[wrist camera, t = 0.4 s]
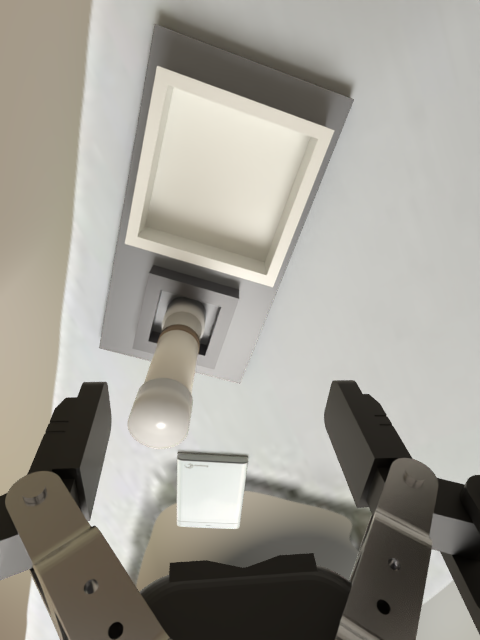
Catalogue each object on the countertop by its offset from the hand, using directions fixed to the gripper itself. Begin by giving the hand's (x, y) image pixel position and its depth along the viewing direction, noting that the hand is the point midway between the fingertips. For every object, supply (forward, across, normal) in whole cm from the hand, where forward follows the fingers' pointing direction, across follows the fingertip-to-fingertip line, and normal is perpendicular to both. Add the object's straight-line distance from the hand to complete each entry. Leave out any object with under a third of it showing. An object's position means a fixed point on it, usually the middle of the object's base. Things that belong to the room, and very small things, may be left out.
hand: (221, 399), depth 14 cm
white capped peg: (+20, +1, +8) cm, 22 cm away
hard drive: (+22, -2, +34) cm, 40 cm away
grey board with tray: (+22, 0, +1) cm, 22 cm away
